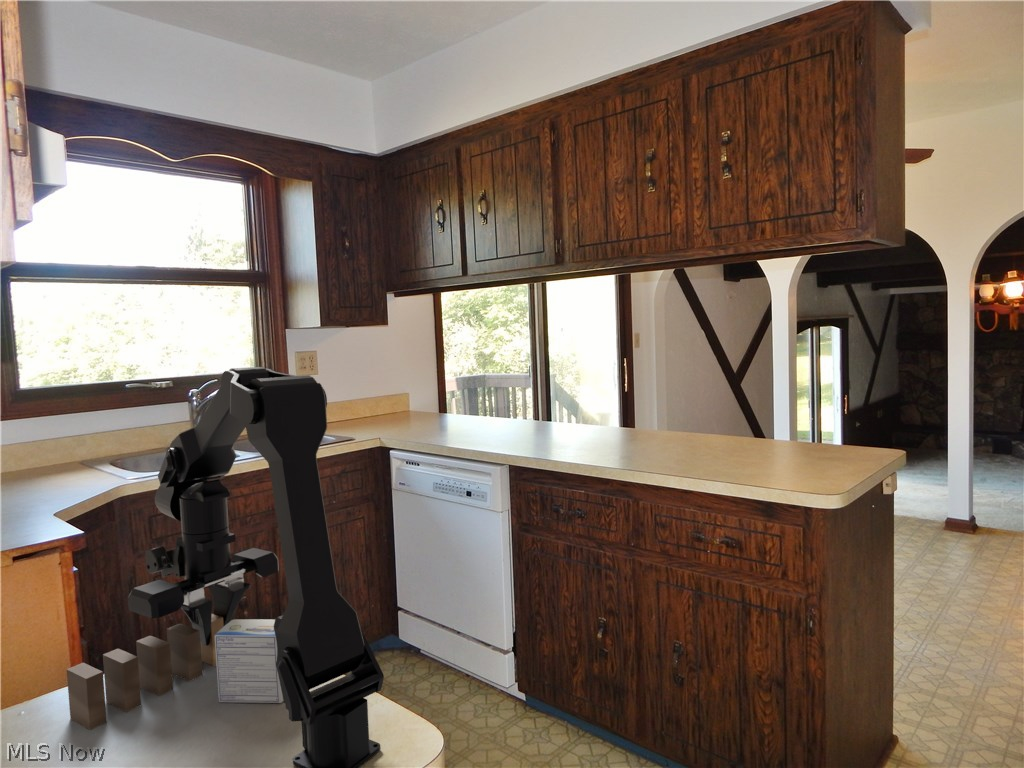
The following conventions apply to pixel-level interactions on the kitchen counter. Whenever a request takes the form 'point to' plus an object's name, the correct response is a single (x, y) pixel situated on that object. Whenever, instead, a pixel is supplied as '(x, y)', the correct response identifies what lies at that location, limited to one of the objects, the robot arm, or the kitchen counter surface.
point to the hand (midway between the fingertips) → (212, 641)
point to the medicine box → (247, 662)
